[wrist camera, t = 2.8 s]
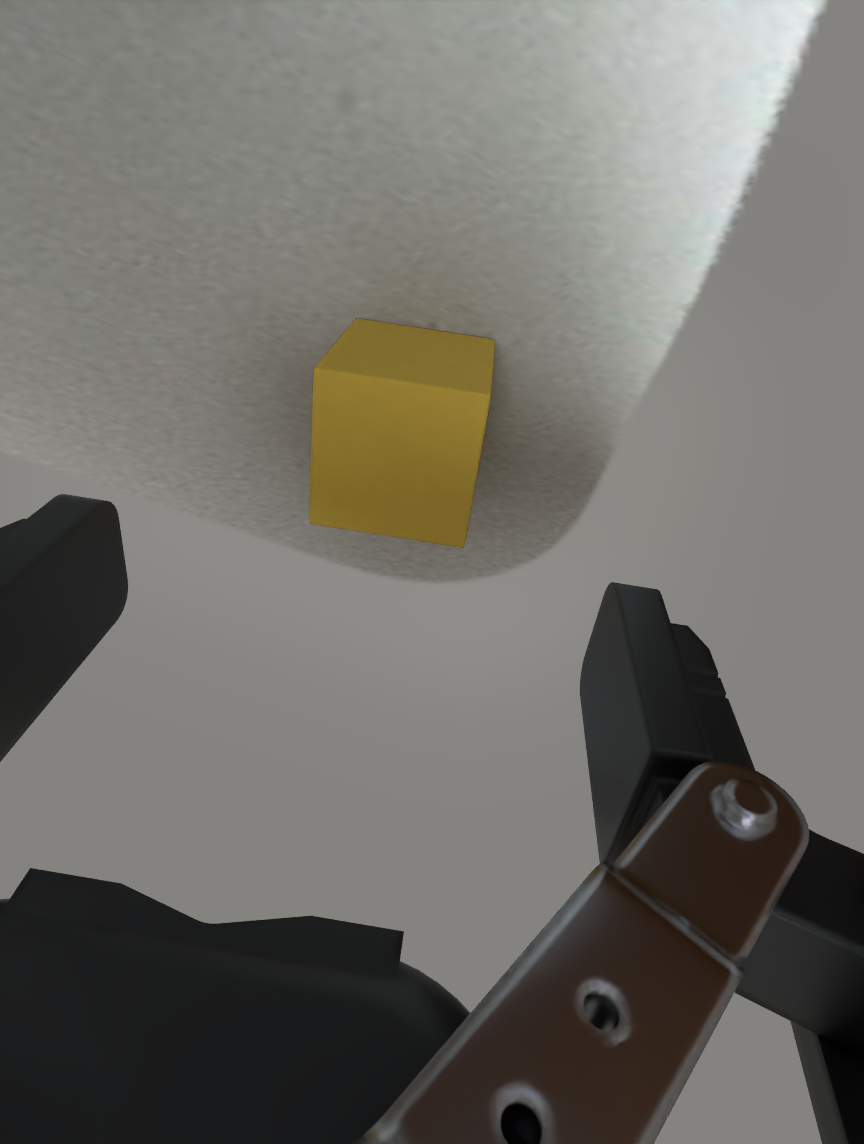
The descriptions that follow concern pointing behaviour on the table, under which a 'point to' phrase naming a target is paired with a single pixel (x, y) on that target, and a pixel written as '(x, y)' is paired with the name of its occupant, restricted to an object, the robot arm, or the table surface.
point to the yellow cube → (399, 431)
